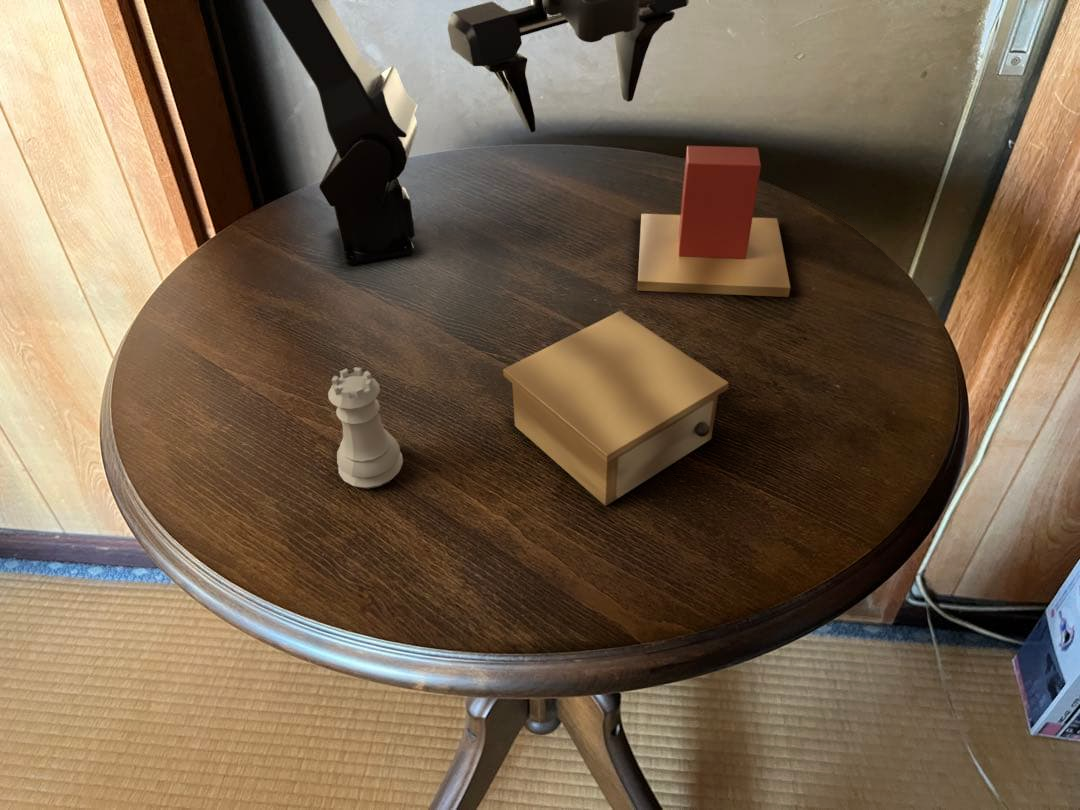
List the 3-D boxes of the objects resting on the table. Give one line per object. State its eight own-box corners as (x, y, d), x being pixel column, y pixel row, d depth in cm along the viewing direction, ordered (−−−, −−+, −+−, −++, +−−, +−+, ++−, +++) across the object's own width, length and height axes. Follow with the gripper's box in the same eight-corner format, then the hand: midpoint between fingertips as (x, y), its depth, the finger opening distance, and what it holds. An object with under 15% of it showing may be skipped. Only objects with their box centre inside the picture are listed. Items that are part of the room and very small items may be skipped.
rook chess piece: (384, 499, 55) (364, 410, 50) (326, 482, 57) (301, 393, 51) (415, 454, 59) (399, 366, 53) (360, 439, 60) (339, 351, 55)
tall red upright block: (746, 259, 75) (761, 165, 69) (678, 256, 75) (687, 163, 69) (743, 239, 77) (757, 147, 71) (678, 237, 78) (687, 145, 72)
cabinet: (612, 519, 54) (614, 462, 50) (506, 425, 61) (502, 369, 57) (727, 445, 59) (737, 387, 55) (617, 365, 65) (620, 310, 62)
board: (637, 290, 73) (638, 281, 72) (640, 222, 82) (641, 213, 81) (788, 297, 72) (790, 287, 71) (775, 227, 81) (777, 218, 80)
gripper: (479, -41, 53) (516, 183, 63) (729, -108, 57) (726, 113, 67) (425, -68, 61) (467, 135, 71) (648, -125, 65) (657, 75, 75)
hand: (580, 115), depth 71 cm, fingers open, 9 cm apart
